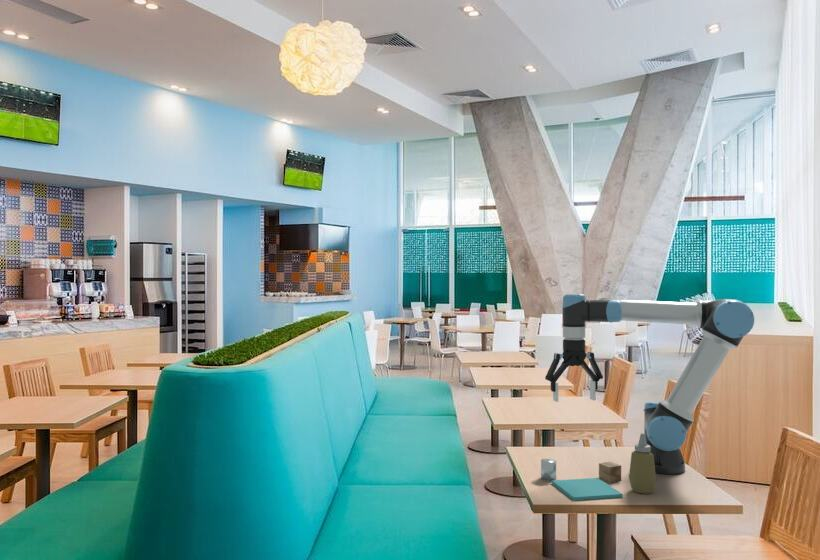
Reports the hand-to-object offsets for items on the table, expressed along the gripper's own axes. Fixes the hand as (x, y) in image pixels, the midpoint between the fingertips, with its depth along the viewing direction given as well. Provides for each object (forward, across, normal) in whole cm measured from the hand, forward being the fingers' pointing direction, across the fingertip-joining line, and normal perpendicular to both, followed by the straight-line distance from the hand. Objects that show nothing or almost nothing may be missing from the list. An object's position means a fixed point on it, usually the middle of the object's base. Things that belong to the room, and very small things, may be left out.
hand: (574, 400), depth 221 cm
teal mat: (+24, +5, +19) cm, 31 cm away
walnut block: (+25, -8, +10) cm, 28 cm away
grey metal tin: (+24, +12, +6) cm, 28 cm away
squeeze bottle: (+25, -12, +23) cm, 36 cm away
